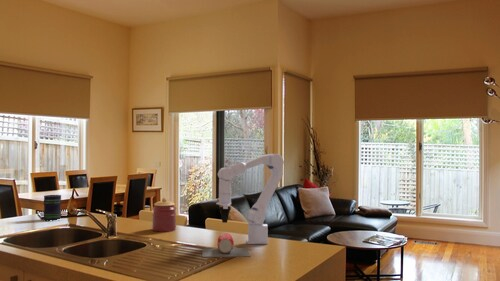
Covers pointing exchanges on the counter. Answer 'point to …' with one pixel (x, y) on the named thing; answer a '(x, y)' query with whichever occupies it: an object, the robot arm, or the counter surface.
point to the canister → (164, 216)
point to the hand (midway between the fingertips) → (224, 222)
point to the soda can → (225, 243)
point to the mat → (233, 253)
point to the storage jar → (52, 207)
